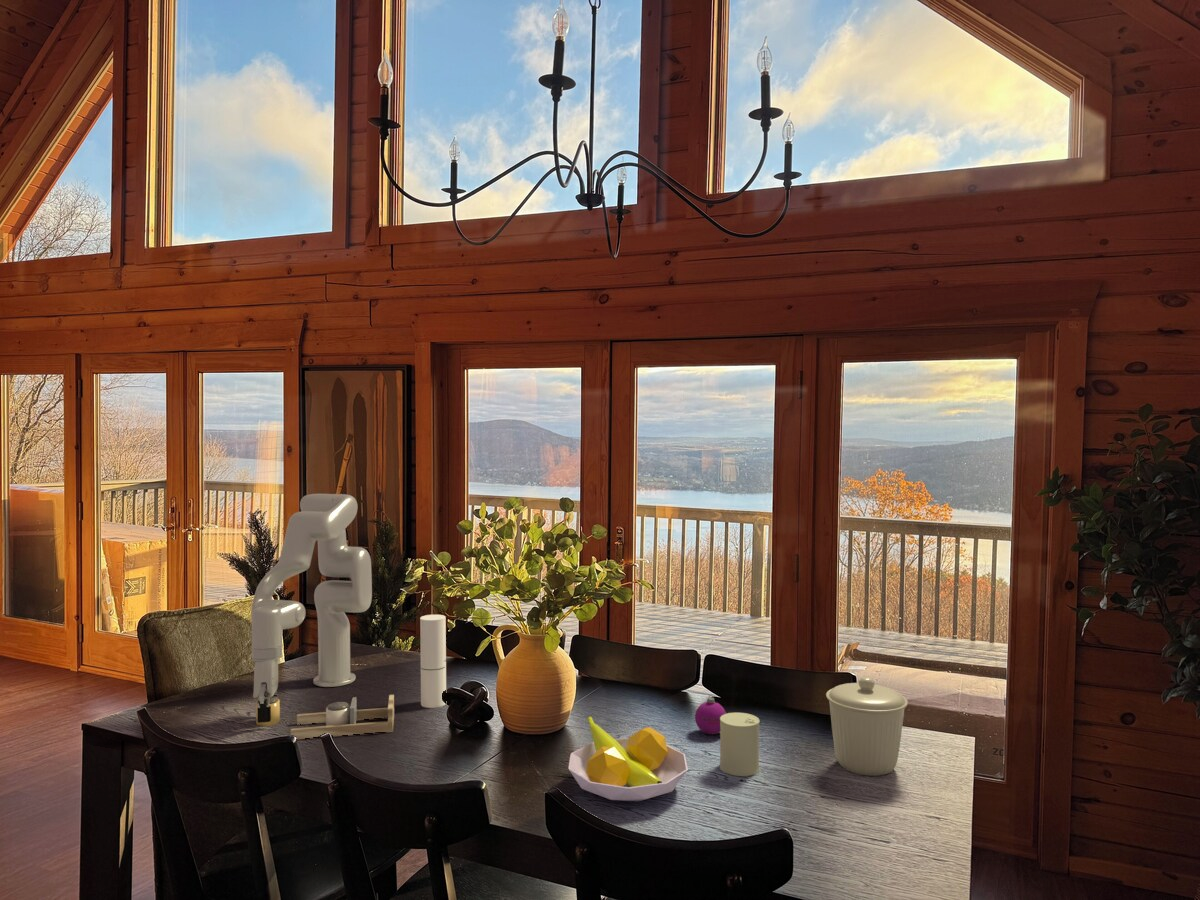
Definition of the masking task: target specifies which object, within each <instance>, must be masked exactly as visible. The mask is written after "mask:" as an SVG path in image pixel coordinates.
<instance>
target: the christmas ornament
mask: <svg viewBox="0 0 1200 900" xmlns="http://www.w3.org/2000/svg"><path fill="white" fill-rule="evenodd" d="M706 699H707V700H706V702H702V703H701V704H700V705H699V706H698V707H697V709H696V711H695V715H694V720H695V721H694V722H695V723H696V725H697V727H698V729H699V730H700V731H701V732H702V733H704V734H708V735H716V734H720V717H721V716H722V715H724V714H727V711H726V710H725V708H724V707H723V706H722V705H721V704H720V703H719V702H716V701H715V698H714V695H712V694H710V695H708V698H706Z"/></svg>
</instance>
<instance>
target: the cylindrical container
mask: <svg viewBox="0 0 1200 900" xmlns="http://www.w3.org/2000/svg"><path fill="white" fill-rule="evenodd" d="M446 617H447V616H445V615H444V614H426V615H422V616H420V618H419V620H420V621H419V622H420V623H419V624H420V626H419V627H420V628H419V629H420V631H419V632H420V636H419V637H420V638H419V641H420V706H421V707H423V708H428V709H433V708H434V709H435V708H437V709H438V708H441V707H444V706H445V705H446V704H445V703H444V702H443V701H442V693H443V691H445V690H446V691H447V645H446V644H447V641H446V640H447V637H446V635H447V631H446V629H447V628H446V623H447V621H446V620H447V619H446Z"/></svg>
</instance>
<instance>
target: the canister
mask: <svg viewBox="0 0 1200 900" xmlns="http://www.w3.org/2000/svg"><path fill="white" fill-rule="evenodd" d="M825 697H826V699H827V700H828V701H829V713H830V722H831V731H832V737H833V739H832V740H833V747H834V753H835V758H836V759H837V762H838V763H839V765H840V766H841V767H843V768H844V769H845V770H847V771H849V772H852V773H853V774H857V775H862V776H869V777H870V776H871V777H872V776H873V777H876V776H877V777H878V776H884V775H888V774H889V773H891V772H892V771H893V770H894V769H895V768H896V767H897V763H898V759H899V752H900V747H901V739H902V732H903V731H902V730H903V722H904V715H905V709H906V708H907V706H908V705H909V701H908V699H907V698H906V697H905V696H904V695H902V694H900V693H899V692H898V691H897V690H894V689H892V688H889V687H888V686H884V685H880V684H875V681H874V680H873V679H872V678H871V677H867V676H865V677H864V676H863V677H861V678H860V679H859V680H858V682H850V683H849V682H847V683H843V684H839V685H836V686H834V687H832V688H830V689H829V690H827V691H826V693H825Z"/></svg>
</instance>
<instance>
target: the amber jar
mask: <svg viewBox="0 0 1200 900" xmlns="http://www.w3.org/2000/svg"><path fill="white" fill-rule="evenodd" d="M266 700H267V699H266ZM280 703H281V701H280V699H279V697H278V696H277V697H275V696H272V697H271V698H270V705H269V706H271V721H270V722H260V723H259V722H258V699H257V701H255V724H256V725H257V726H258V727H259V726H260V727H268V726H273V725H274V726H275V725H277V724H279V723H281V707H280V706H281V704H280Z"/></svg>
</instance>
